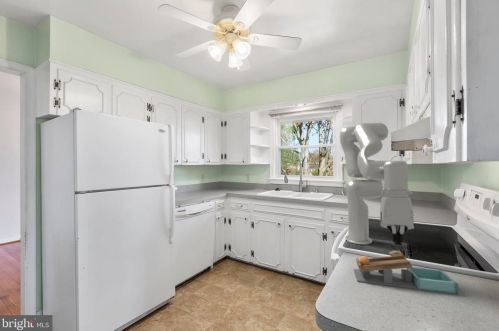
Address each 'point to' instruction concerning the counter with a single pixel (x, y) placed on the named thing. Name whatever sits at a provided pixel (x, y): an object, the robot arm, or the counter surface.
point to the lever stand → (386, 278)
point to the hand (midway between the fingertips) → (397, 243)
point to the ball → (364, 260)
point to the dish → (433, 280)
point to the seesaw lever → (385, 262)
